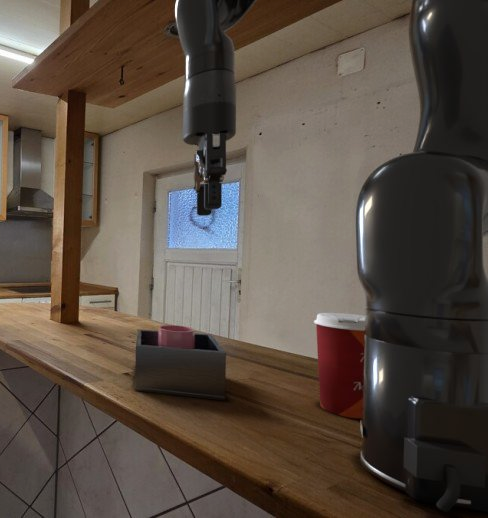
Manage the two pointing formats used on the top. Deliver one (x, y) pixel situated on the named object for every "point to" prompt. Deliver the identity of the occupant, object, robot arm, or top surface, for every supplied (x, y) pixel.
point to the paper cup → (341, 362)
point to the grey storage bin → (180, 367)
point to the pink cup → (176, 336)
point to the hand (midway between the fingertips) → (208, 212)
